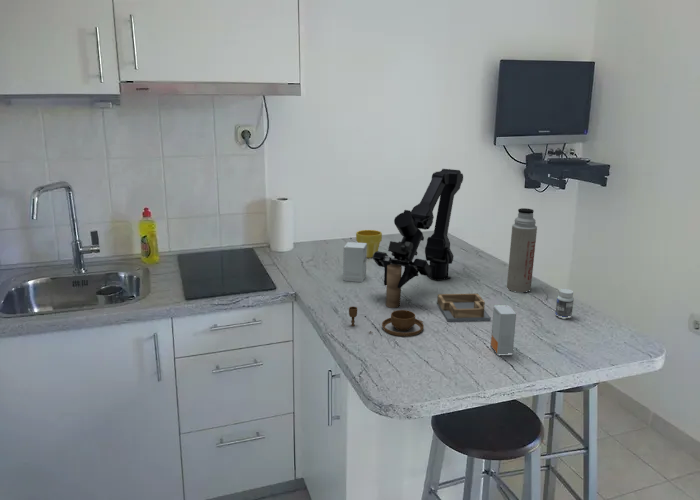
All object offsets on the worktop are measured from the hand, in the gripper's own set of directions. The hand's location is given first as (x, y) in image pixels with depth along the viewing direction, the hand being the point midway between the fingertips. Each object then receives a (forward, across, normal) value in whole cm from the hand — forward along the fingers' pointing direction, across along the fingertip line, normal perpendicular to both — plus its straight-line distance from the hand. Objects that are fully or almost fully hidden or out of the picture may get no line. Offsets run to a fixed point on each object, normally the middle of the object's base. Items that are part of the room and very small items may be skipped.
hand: (391, 286), depth 182 cm
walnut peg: (+4, 0, +6) cm, 7 cm away
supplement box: (-7, -24, +17) cm, 30 cm away
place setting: (+14, +7, -4) cm, 16 cm away
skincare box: (+13, +40, -3) cm, 42 cm away
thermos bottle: (-23, +28, +33) cm, 49 cm away
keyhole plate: (-2, +20, +11) cm, 23 cm away
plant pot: (-26, -35, +36) cm, 57 cm away
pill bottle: (-11, +47, +21) cm, 53 cm away
